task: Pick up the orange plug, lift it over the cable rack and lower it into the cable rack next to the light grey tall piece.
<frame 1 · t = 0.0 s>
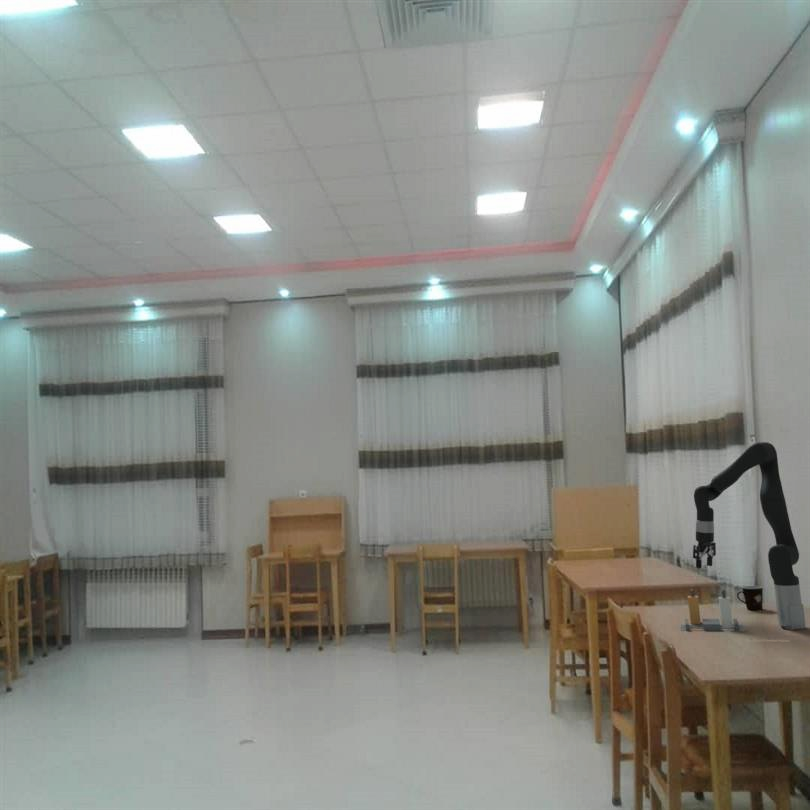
hand: (704, 567, 335), 22 cm above the table, tool pointing down, fingers open, 8 cm apart
coffee mug: (751, 610, 345), on the table
orange plug: (695, 625, 321), on the table
cable rack: (711, 630, 310), on the table
light grey tall piece: (727, 627, 308), point 1 cm above the table, touching cable rack
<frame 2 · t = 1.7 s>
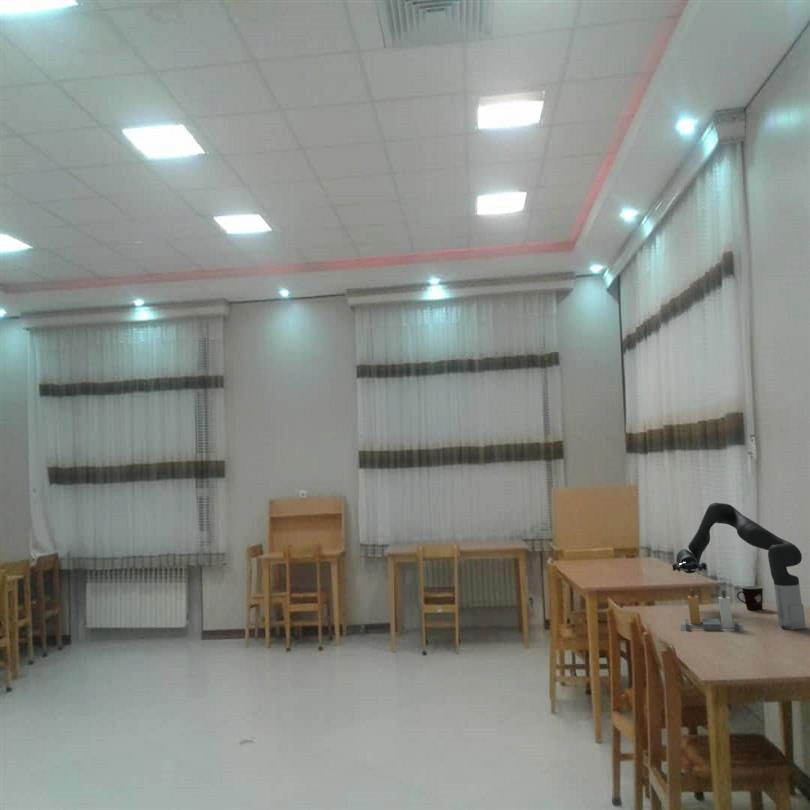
hand: (689, 568, 334), 22 cm above the table, tool horizontal, fingers open, 8 cm apart
nothing on the table moved.
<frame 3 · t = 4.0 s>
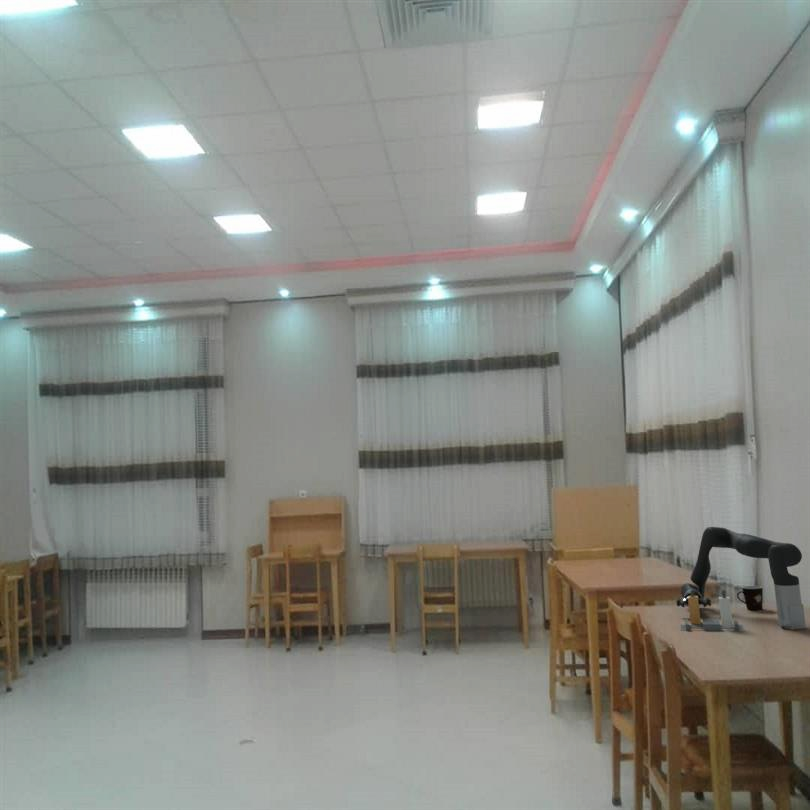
hand: (693, 605, 329), 7 cm above the table, tool horizontal, fingers open, 8 cm apart
nothing on the table moved.
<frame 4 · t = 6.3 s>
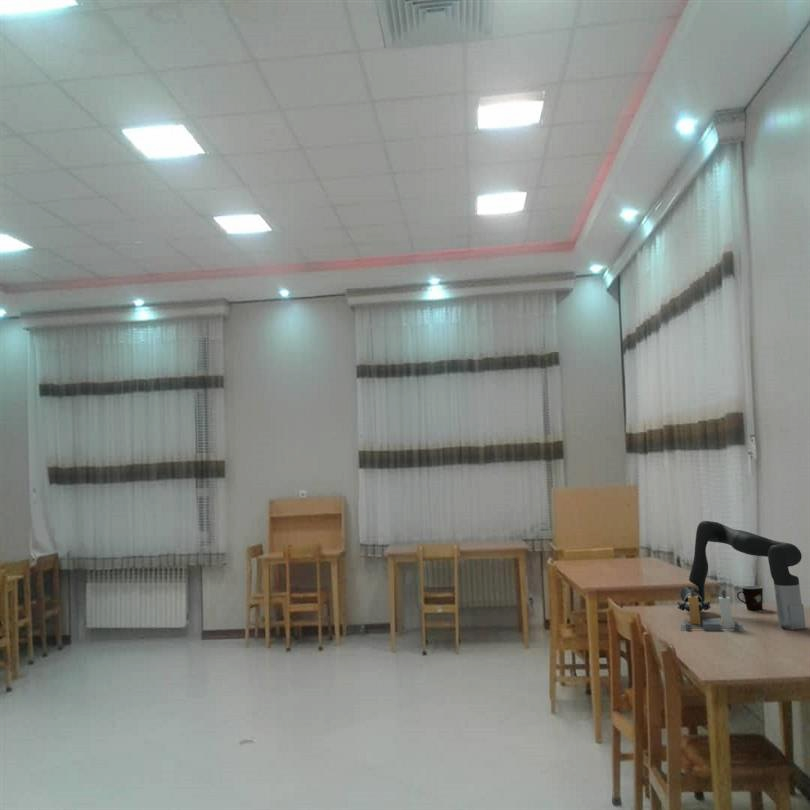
hand: (694, 609, 320), 7 cm above the table, tool horizontal, fingers closed on orange plug, 4 cm apart
orange plug: (695, 625, 321), on the table, touching gripper
everything else where it was.
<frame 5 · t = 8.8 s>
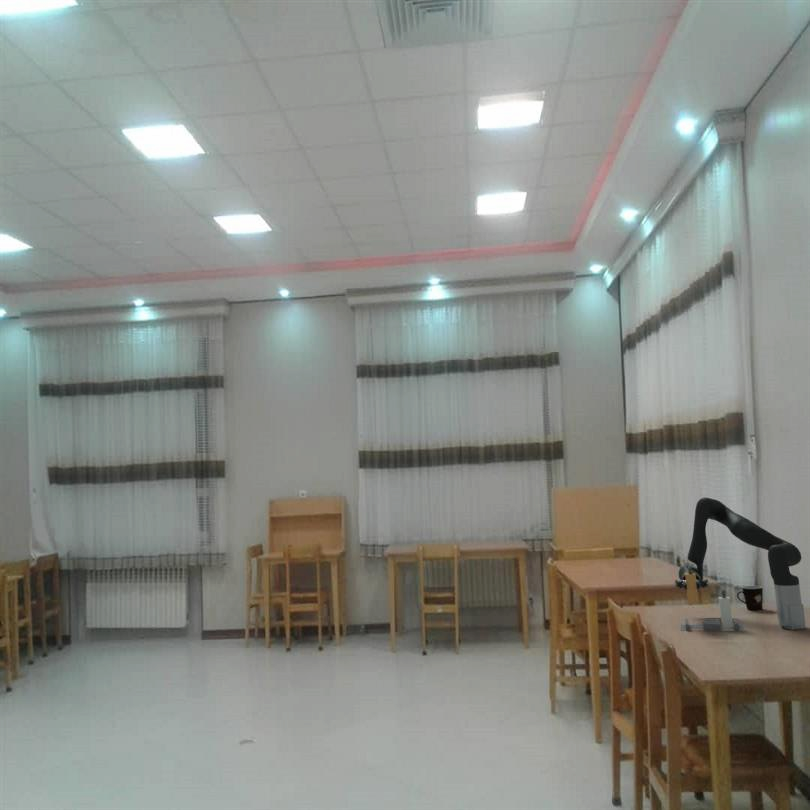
hand: (691, 586, 313), 18 cm above the table, tool horizontal, fingers closed on orange plug, 4 cm apart
orange plug: (693, 603, 315), point 11 cm above the table, touching gripper
everything else where it was.
when the fingers open (10 cm above the table, at t = 11.4 s): orange plug drops 1 cm, resting on cable rack.
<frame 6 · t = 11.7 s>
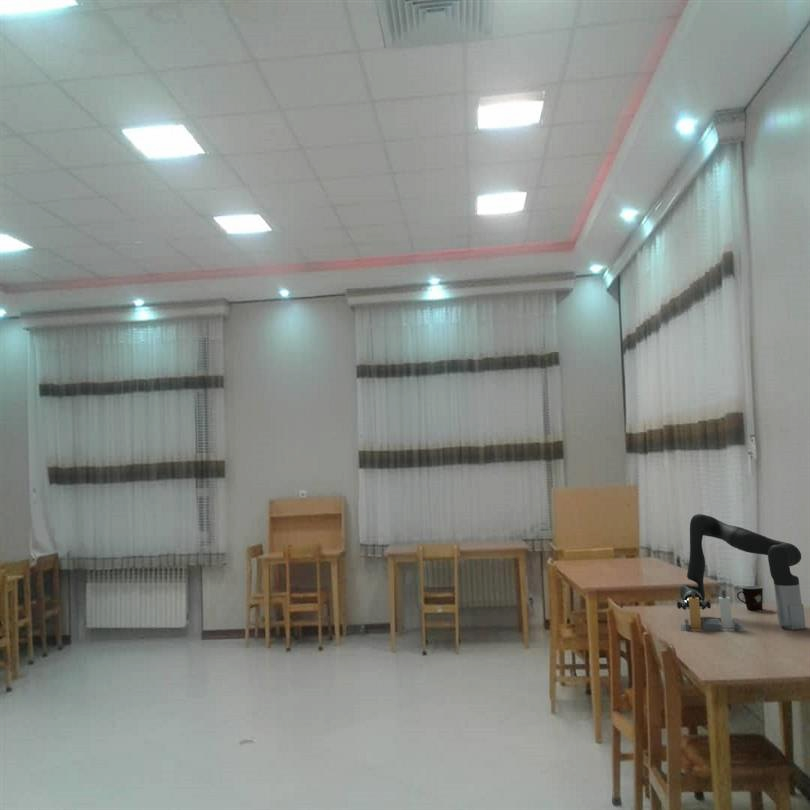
hand: (693, 607, 311), 10 cm above the table, tool horizontal, fingers open, 6 cm apart
orange plug: (696, 627, 312), point 1 cm above the table, touching cable rack
everything else where it was.
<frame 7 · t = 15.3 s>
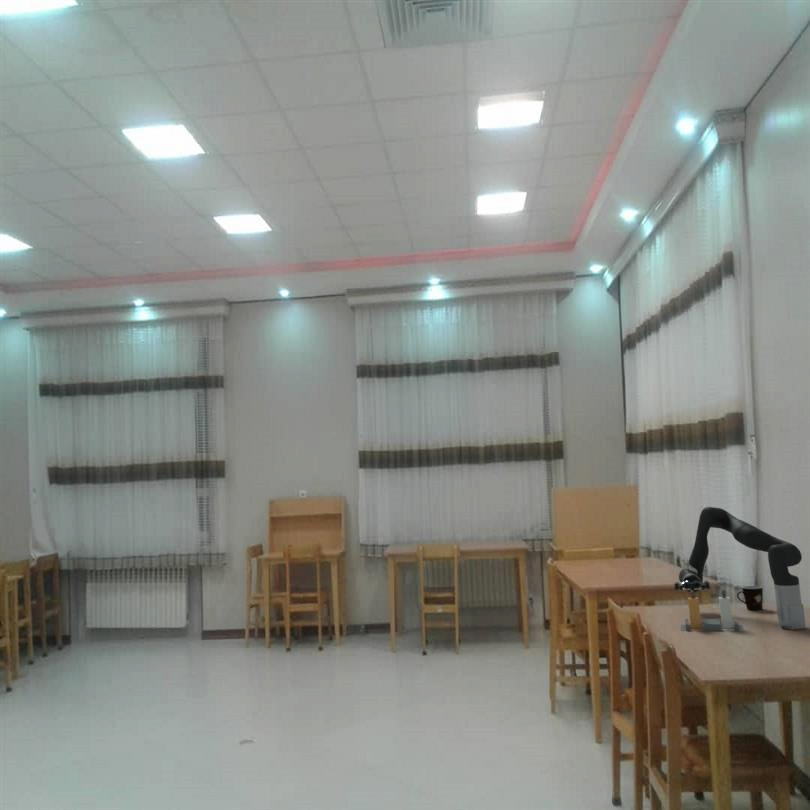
hand: (692, 587, 324), 16 cm above the table, tool horizontal, fingers open, 8 cm apart
nothing on the table moved.
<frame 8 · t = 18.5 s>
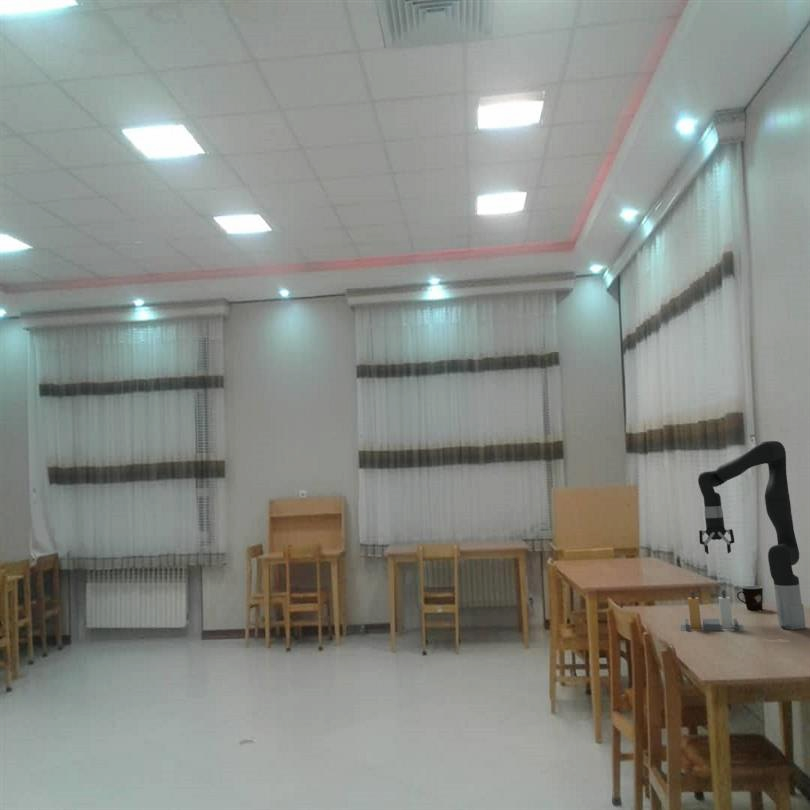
hand: (718, 553, 333), 28 cm above the table, tool pointing down, fingers open, 8 cm apart
nothing on the table moved.
at the end: orange plug 0.0 cm from the target spot on the cable rack, point 1.0 cm above the cable rack's base; orange plug tilted 0°; light grey tall piece moved 0.0 cm from its start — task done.
